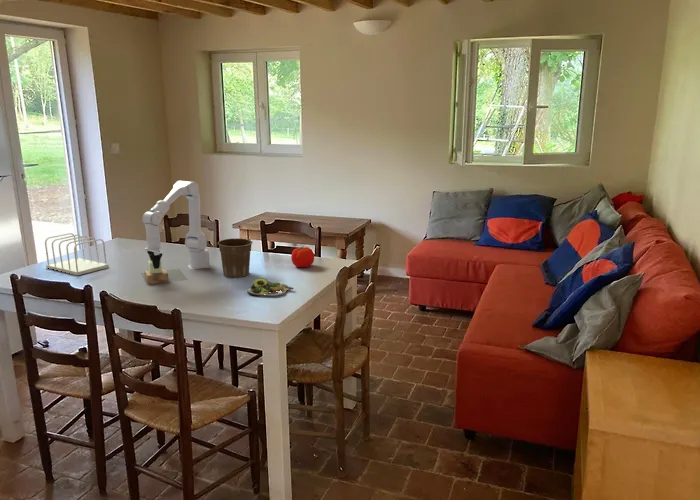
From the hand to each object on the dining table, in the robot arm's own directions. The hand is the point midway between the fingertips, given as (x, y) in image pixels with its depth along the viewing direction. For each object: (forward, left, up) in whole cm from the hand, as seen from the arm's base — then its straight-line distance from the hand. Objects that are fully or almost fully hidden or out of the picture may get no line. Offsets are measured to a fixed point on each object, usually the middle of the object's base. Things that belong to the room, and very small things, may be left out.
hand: (155, 266), depth 254 cm
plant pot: (-36, +6, -7) cm, 37 cm away
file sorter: (+32, -40, -7) cm, 51 cm away
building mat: (-4, -5, -7) cm, 9 cm away
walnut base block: (0, 0, -6) cm, 6 cm away
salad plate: (-41, +36, -7) cm, 55 cm away
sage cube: (0, 0, -2) cm, 2 cm away
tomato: (-70, +7, -7) cm, 71 cm away
